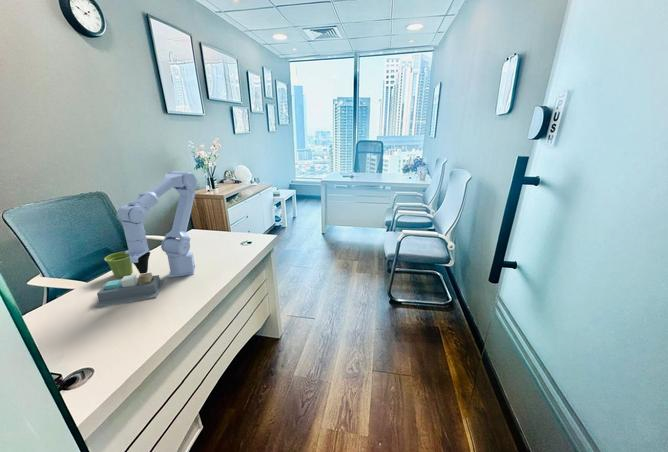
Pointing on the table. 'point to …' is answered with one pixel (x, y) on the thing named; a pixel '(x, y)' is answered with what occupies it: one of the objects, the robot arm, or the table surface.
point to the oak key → (145, 278)
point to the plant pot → (119, 264)
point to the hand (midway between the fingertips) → (143, 272)
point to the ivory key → (129, 281)
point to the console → (129, 293)
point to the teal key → (113, 284)
